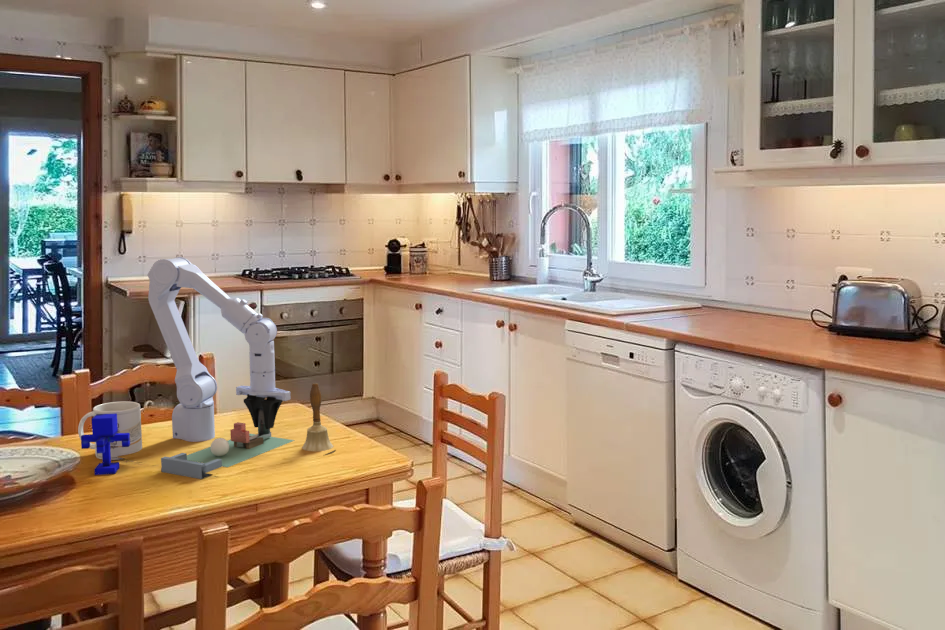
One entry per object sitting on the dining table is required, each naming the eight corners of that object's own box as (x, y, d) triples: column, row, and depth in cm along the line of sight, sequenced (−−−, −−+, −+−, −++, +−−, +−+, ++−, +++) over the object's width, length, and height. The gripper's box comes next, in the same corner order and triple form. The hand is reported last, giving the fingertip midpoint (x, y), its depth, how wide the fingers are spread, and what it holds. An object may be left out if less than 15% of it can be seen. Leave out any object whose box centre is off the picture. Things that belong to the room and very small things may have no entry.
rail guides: (234, 446, 193) (233, 440, 192) (248, 441, 197) (248, 435, 197) (249, 449, 191) (248, 443, 191) (263, 443, 195) (263, 437, 195)
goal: (161, 471, 177) (161, 458, 177) (182, 463, 183) (182, 450, 182) (201, 479, 173) (201, 465, 172) (222, 470, 178) (221, 457, 178)
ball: (206, 457, 185) (206, 439, 184) (219, 452, 188) (218, 435, 188) (220, 459, 183) (220, 441, 182) (233, 454, 186) (232, 437, 186)
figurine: (133, 470, 178) (131, 415, 177) (100, 479, 172) (97, 422, 171) (113, 463, 183) (110, 409, 181) (80, 472, 177) (77, 416, 175)
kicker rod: (230, 446, 192) (229, 415, 191) (261, 435, 201) (260, 406, 200) (245, 449, 190) (244, 418, 189) (275, 437, 199) (274, 407, 198)
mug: (110, 463, 183) (108, 414, 181) (77, 455, 189) (74, 407, 188) (151, 452, 192) (149, 404, 190) (118, 444, 198) (116, 398, 196)
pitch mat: (177, 462, 184) (177, 458, 183) (248, 437, 204) (247, 433, 204) (227, 471, 178) (227, 467, 178) (294, 444, 198) (294, 440, 198)
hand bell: (328, 457, 188) (326, 387, 186) (293, 455, 190) (291, 386, 188) (341, 446, 196) (339, 380, 194) (307, 444, 198) (305, 378, 196)
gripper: (226, 371, 196) (228, 427, 198) (276, 376, 190) (277, 435, 192) (246, 365, 203) (248, 420, 204) (295, 371, 196) (296, 427, 198)
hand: (263, 427), depth 199 cm, fingers closed on kicker rod, 3 cm apart
